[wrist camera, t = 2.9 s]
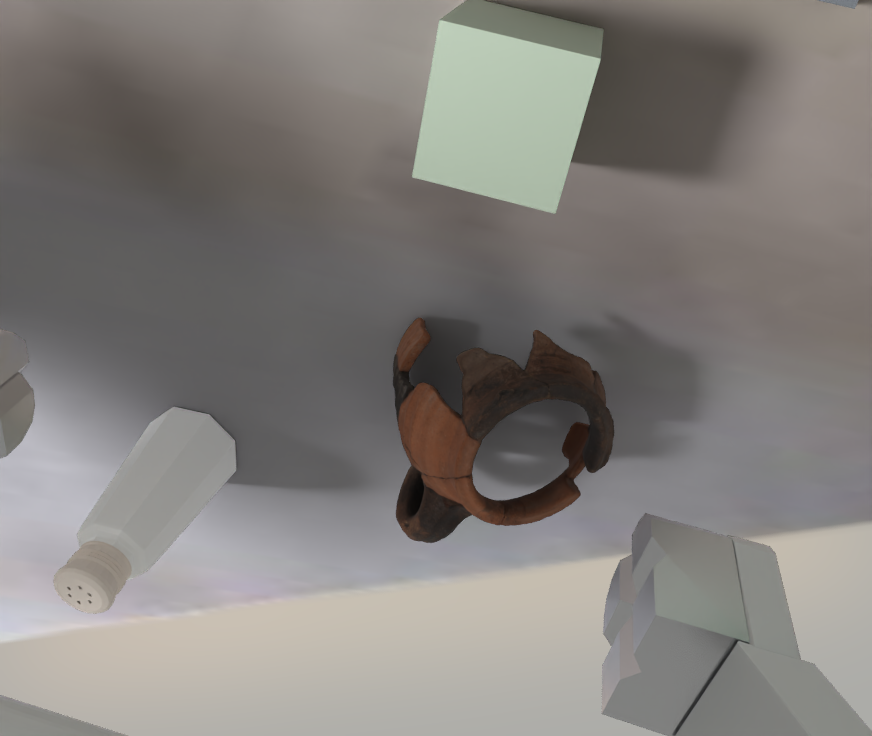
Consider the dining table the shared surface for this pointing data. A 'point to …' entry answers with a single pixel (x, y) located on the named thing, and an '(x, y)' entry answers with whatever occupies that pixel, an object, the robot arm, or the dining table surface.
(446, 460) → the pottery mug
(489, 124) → the sage block
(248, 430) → the dining table surface
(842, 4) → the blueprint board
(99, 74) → the dining table surface
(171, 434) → the pepper shaker
